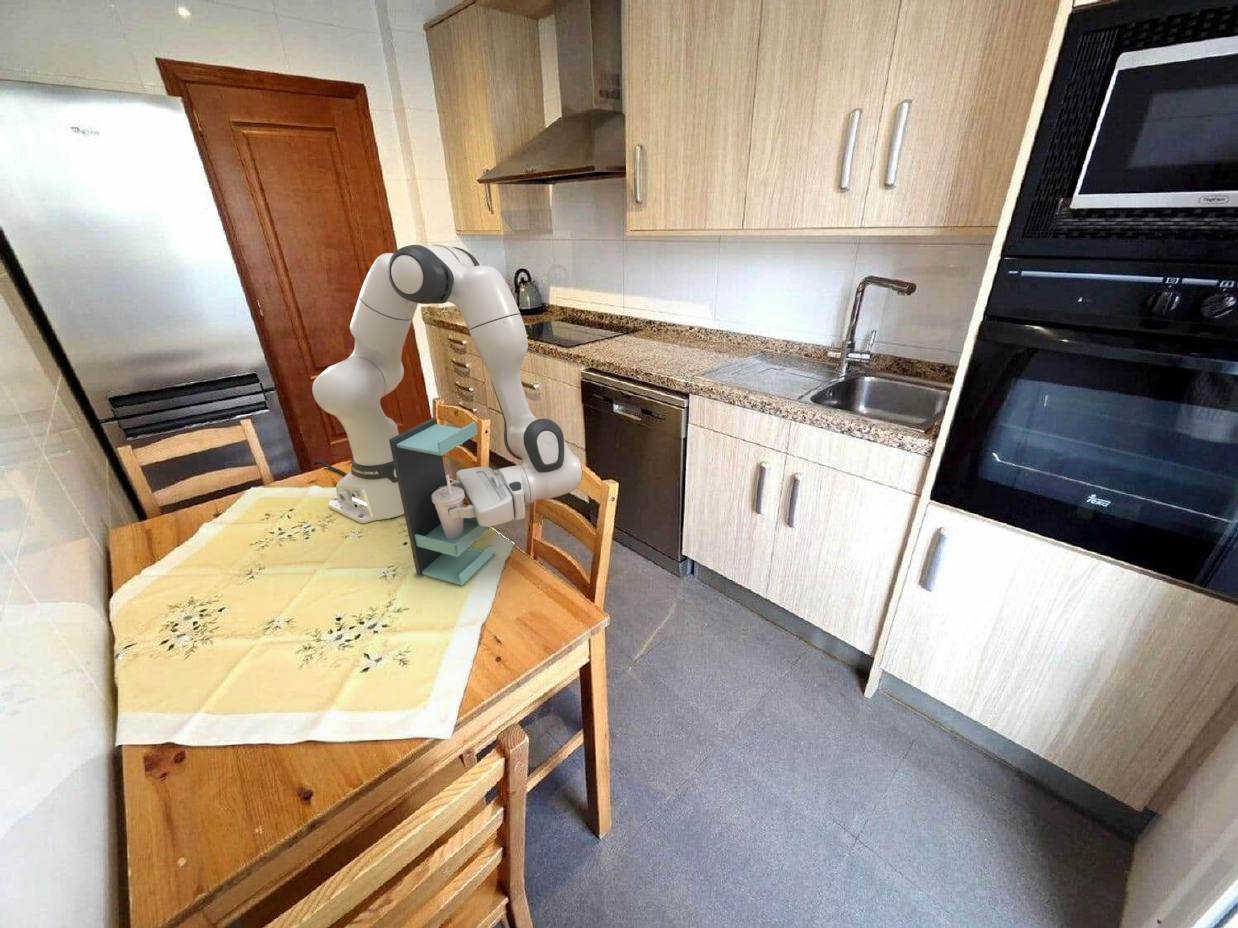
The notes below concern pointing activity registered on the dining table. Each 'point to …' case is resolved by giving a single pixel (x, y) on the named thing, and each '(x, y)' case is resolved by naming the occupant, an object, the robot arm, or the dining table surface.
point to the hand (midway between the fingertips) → (443, 502)
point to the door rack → (417, 482)
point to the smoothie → (446, 500)
